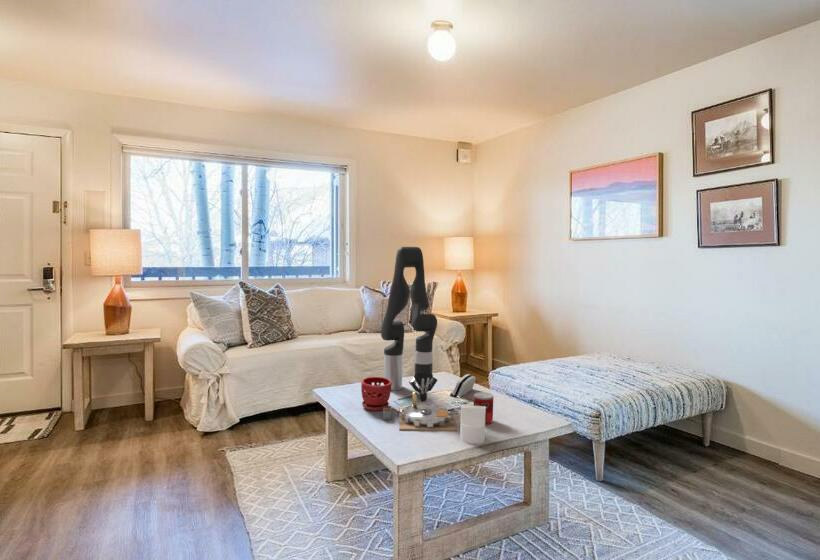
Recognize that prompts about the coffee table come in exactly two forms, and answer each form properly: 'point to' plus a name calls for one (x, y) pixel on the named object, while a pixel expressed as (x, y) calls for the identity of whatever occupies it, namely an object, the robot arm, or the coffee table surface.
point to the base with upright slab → (472, 424)
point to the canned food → (485, 404)
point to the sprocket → (425, 414)
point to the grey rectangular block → (387, 413)
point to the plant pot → (375, 393)
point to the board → (410, 426)
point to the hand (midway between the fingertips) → (422, 401)
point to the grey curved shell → (464, 385)
